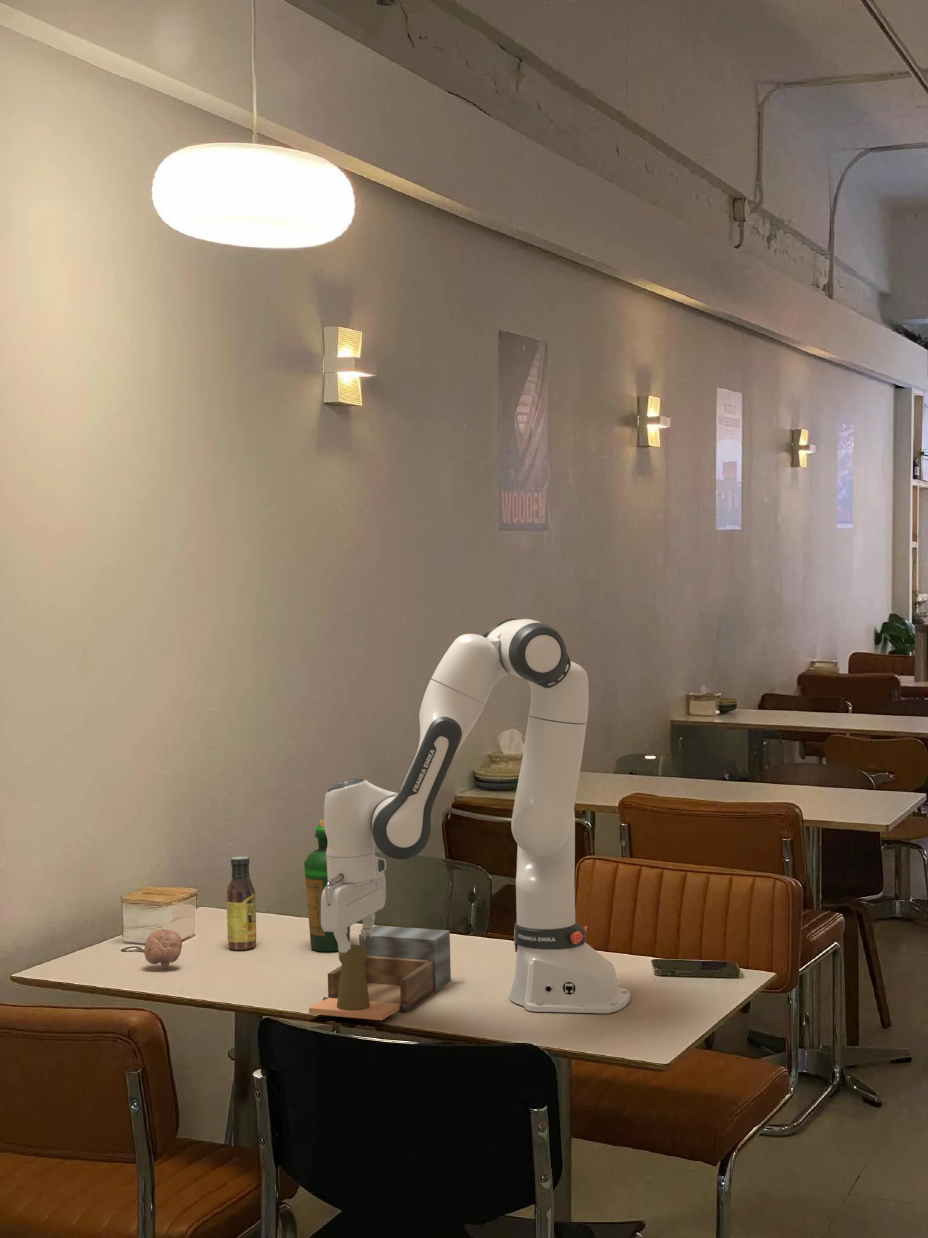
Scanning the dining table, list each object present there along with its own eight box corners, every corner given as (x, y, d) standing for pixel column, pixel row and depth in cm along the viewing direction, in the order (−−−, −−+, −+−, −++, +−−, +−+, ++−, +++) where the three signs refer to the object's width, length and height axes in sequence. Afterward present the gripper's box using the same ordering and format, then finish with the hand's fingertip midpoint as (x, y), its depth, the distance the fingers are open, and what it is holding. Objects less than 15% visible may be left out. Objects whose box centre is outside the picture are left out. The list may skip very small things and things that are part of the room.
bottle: (312, 941, 309) (309, 816, 309) (359, 942, 308) (356, 816, 308) (300, 954, 299) (296, 824, 298) (348, 954, 297) (345, 824, 297)
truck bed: (452, 981, 275) (451, 930, 275) (405, 1015, 253) (404, 960, 253) (375, 974, 281) (374, 925, 281) (322, 1007, 259) (321, 954, 259)
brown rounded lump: (188, 967, 290) (187, 929, 290) (166, 974, 285) (165, 936, 285) (162, 963, 294) (161, 925, 294) (140, 970, 289) (139, 931, 289)
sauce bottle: (254, 951, 302) (251, 860, 302) (225, 952, 302) (223, 861, 302) (259, 944, 309) (256, 854, 308) (230, 944, 309) (228, 855, 309)
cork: (364, 1011, 248) (364, 949, 249) (332, 1010, 250) (332, 948, 250) (373, 1003, 254) (373, 942, 255) (342, 1001, 256) (341, 941, 256)
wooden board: (399, 1004, 253) (381, 1014, 246) (399, 1011, 253) (381, 1022, 246) (328, 997, 259) (308, 1008, 251) (328, 1004, 259) (308, 1015, 251)
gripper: (341, 881, 241) (346, 960, 241) (390, 858, 260) (394, 932, 260) (309, 880, 244) (314, 959, 244) (359, 858, 263) (363, 931, 263)
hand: (356, 945), depth 252 cm, fingers open, 8 cm apart
